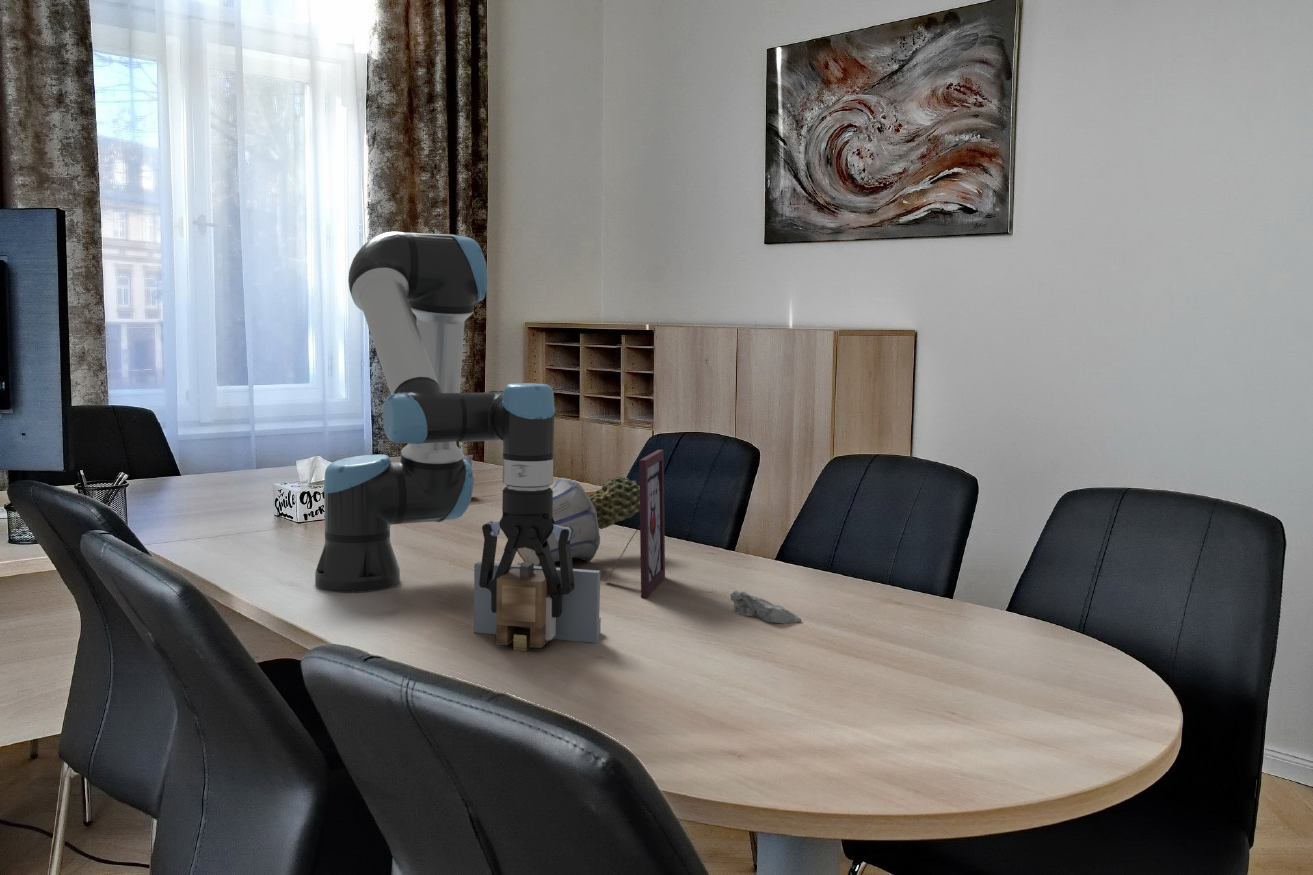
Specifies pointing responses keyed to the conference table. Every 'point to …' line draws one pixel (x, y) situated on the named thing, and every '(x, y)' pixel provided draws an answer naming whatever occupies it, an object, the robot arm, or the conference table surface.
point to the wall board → (576, 606)
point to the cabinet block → (522, 605)
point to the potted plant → (587, 515)
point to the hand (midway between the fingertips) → (526, 635)
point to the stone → (761, 609)
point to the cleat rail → (522, 639)
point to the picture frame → (651, 522)
